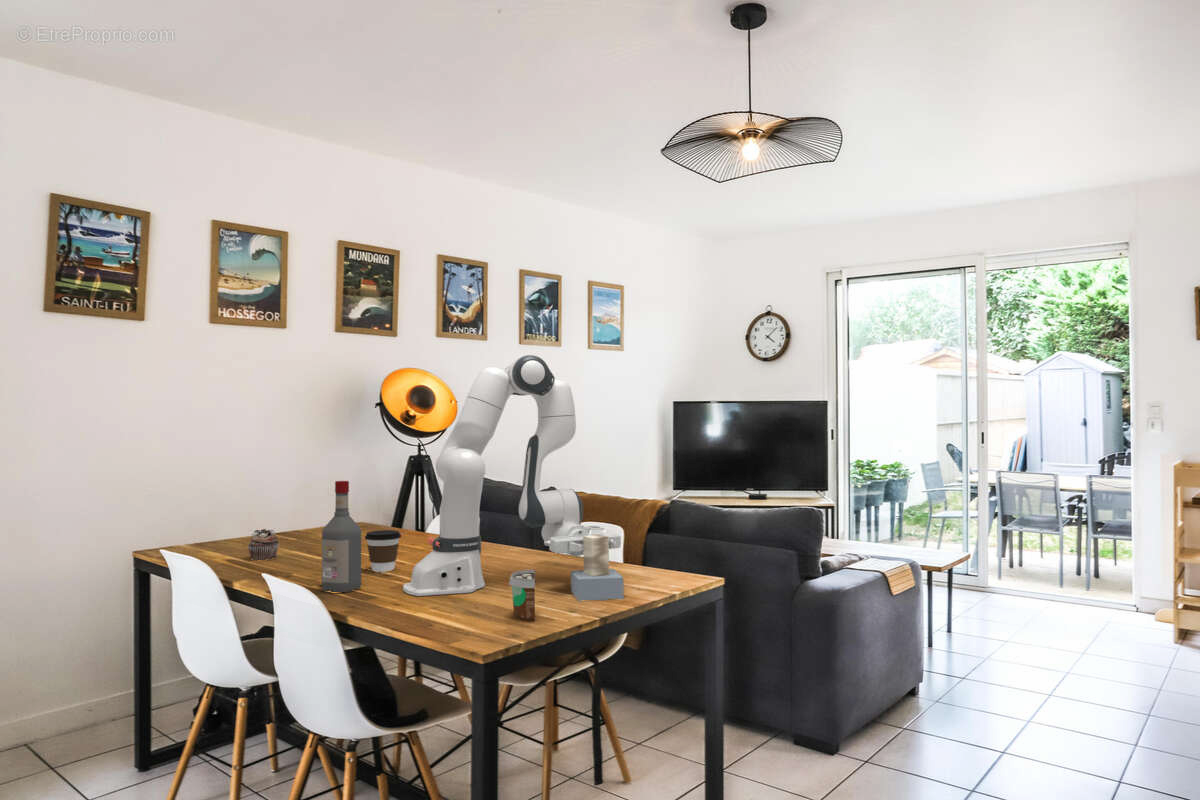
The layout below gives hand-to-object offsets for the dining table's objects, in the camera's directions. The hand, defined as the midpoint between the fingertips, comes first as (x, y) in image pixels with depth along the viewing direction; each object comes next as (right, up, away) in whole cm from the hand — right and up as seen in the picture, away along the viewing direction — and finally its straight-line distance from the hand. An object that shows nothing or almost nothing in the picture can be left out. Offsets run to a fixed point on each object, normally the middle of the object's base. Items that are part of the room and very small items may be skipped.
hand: (598, 546), depth 208 cm
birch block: (0, -7, 0) cm, 7 cm away
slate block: (0, -13, 0) cm, 13 cm away
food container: (-18, -13, -21) cm, 31 cm away
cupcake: (-114, -15, +56) cm, 127 cm away
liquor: (-71, -14, +8) cm, 73 cm away
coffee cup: (-67, -14, +34) cm, 76 cm away
